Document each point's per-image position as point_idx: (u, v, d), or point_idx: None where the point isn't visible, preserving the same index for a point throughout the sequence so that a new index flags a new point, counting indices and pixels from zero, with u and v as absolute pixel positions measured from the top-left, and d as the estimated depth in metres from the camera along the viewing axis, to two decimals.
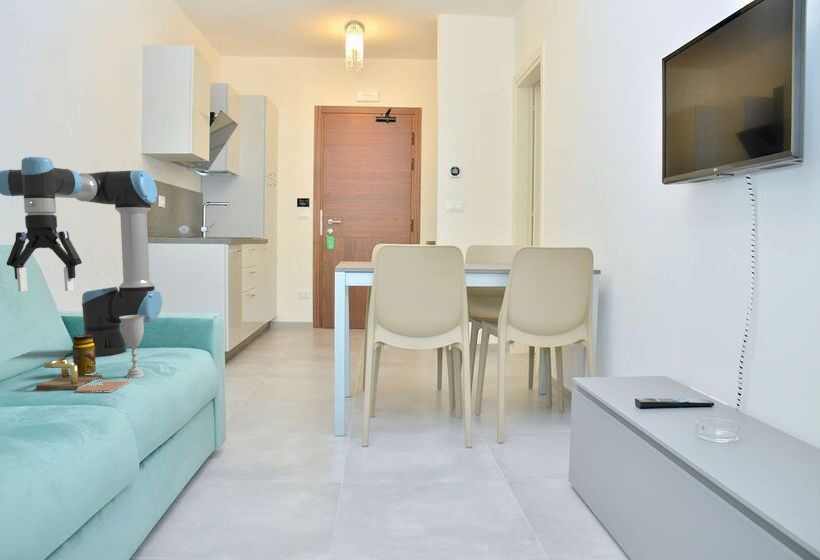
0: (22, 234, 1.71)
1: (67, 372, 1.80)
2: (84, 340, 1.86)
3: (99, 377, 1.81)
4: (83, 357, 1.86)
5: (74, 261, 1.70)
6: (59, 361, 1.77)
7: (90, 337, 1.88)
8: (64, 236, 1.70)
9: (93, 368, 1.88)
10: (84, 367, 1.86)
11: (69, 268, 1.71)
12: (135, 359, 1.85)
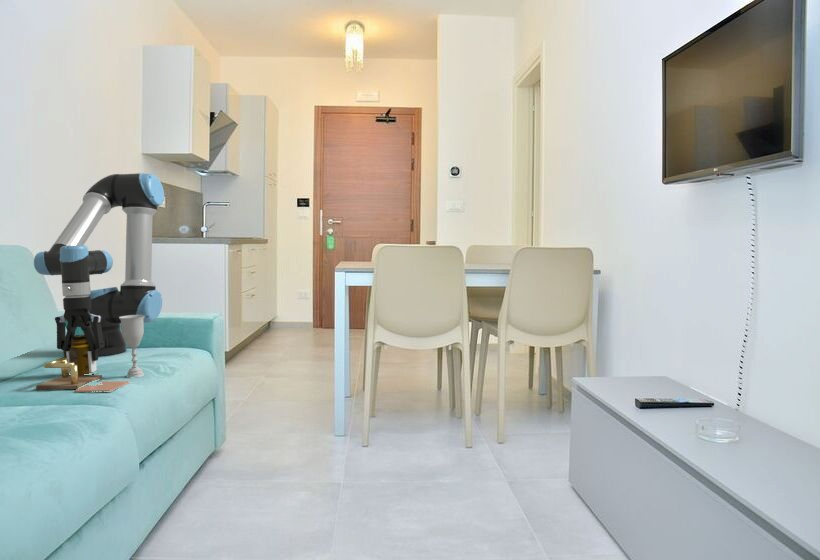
0: (60, 317, 1.87)
1: (67, 372, 1.80)
2: (82, 340, 1.86)
3: (99, 377, 1.81)
4: (81, 357, 1.86)
5: (97, 346, 1.86)
6: (59, 361, 1.77)
7: None
8: (97, 321, 1.86)
9: None
10: (82, 367, 1.86)
11: (92, 351, 1.87)
12: (135, 359, 1.85)
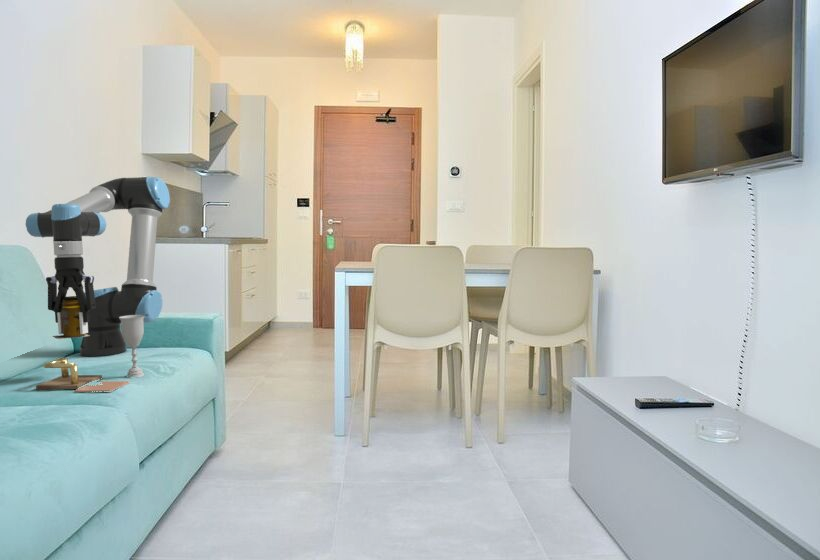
0: (51, 278, 1.83)
1: (67, 372, 1.80)
2: (74, 301, 1.83)
3: (99, 377, 1.81)
4: (72, 318, 1.82)
5: (89, 307, 1.83)
6: (59, 361, 1.77)
7: None
8: (89, 281, 1.82)
9: None
10: (74, 328, 1.83)
11: (84, 313, 1.83)
12: (135, 359, 1.85)
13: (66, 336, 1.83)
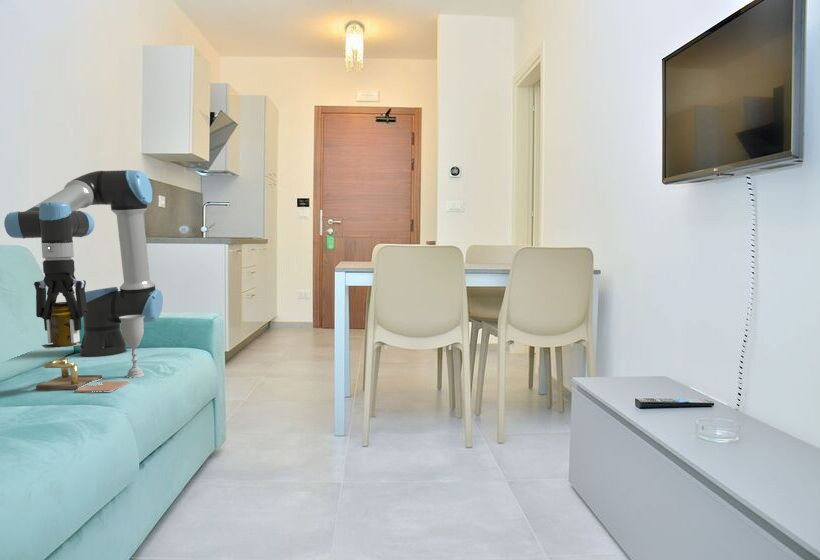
0: (40, 282, 1.70)
1: (67, 372, 1.80)
2: (64, 307, 1.69)
3: (99, 377, 1.81)
4: (62, 326, 1.69)
5: (80, 313, 1.69)
6: (59, 361, 1.77)
7: None
8: (80, 286, 1.69)
9: None
10: (64, 336, 1.69)
11: (75, 320, 1.70)
12: (135, 359, 1.85)
13: (56, 345, 1.69)
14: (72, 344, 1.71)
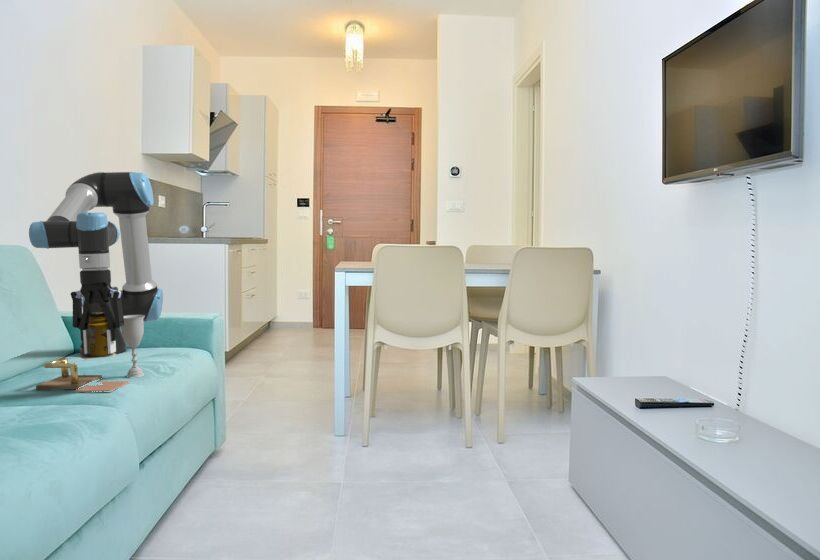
0: (76, 292, 1.69)
1: (67, 372, 1.80)
2: (101, 317, 1.68)
3: (99, 377, 1.81)
4: (99, 336, 1.68)
5: (118, 324, 1.68)
6: (59, 361, 1.77)
7: None
8: (117, 297, 1.68)
9: None
10: (101, 347, 1.68)
11: (112, 330, 1.69)
12: (135, 359, 1.85)
13: (93, 356, 1.69)
14: (109, 354, 1.70)
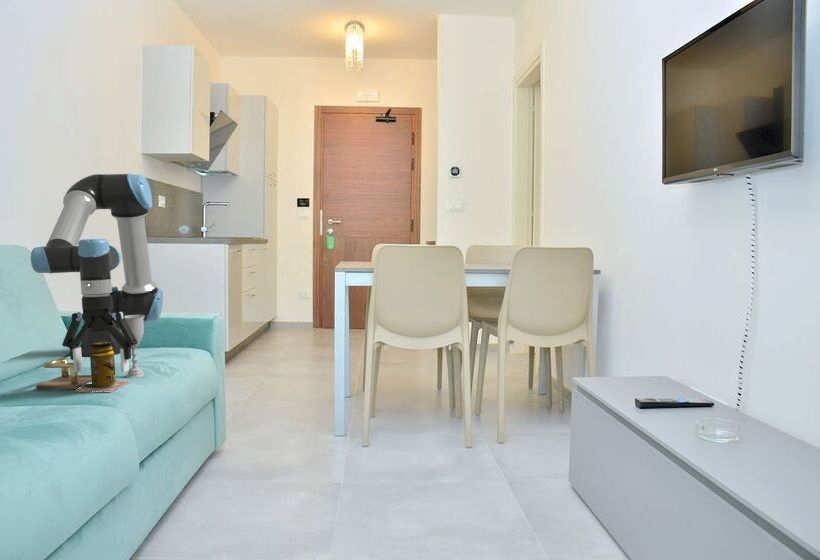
0: (78, 315, 1.70)
1: (67, 372, 1.80)
2: (103, 348, 1.69)
3: None
4: (102, 367, 1.69)
5: (130, 342, 1.69)
6: (59, 361, 1.77)
7: (109, 344, 1.71)
8: (120, 317, 1.69)
9: (113, 378, 1.71)
10: (103, 377, 1.69)
11: (125, 349, 1.70)
12: (135, 359, 1.85)
13: (95, 386, 1.69)
14: (111, 384, 1.71)
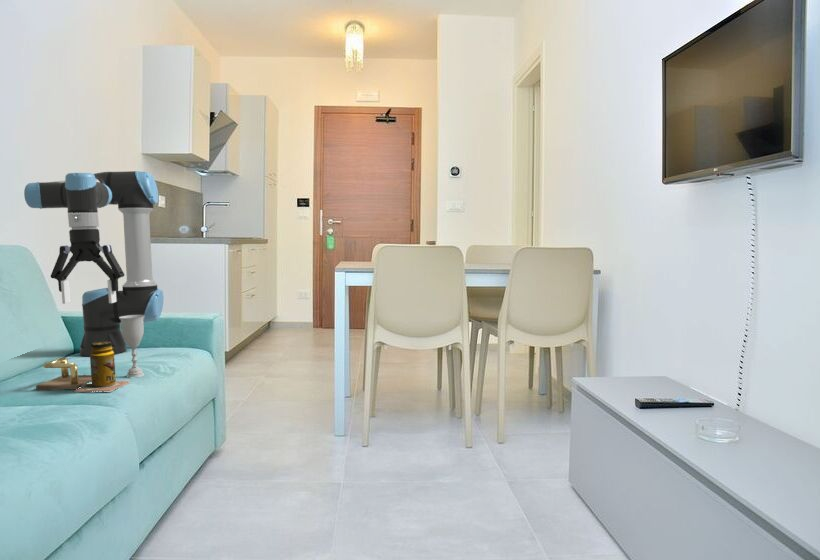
0: (66, 247, 1.75)
1: (67, 372, 1.80)
2: (103, 348, 1.69)
3: None
4: (101, 367, 1.69)
5: (118, 274, 1.74)
6: (59, 361, 1.77)
7: (109, 344, 1.71)
8: (108, 250, 1.74)
9: (113, 378, 1.71)
10: (103, 377, 1.69)
11: (112, 281, 1.75)
12: (135, 359, 1.85)
13: (95, 386, 1.69)
14: (111, 384, 1.71)
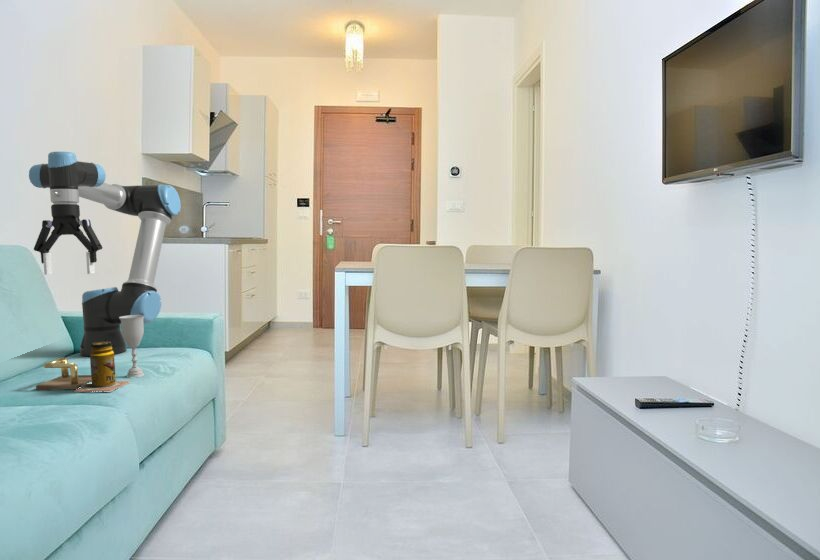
0: (48, 222, 1.87)
1: (67, 372, 1.80)
2: (103, 348, 1.69)
3: None
4: (101, 367, 1.69)
5: (96, 246, 1.86)
6: (59, 361, 1.77)
7: (109, 344, 1.71)
8: (86, 224, 1.86)
9: (113, 378, 1.71)
10: (103, 377, 1.69)
11: (91, 253, 1.87)
12: (135, 359, 1.85)
13: (95, 386, 1.69)
14: (111, 384, 1.71)
